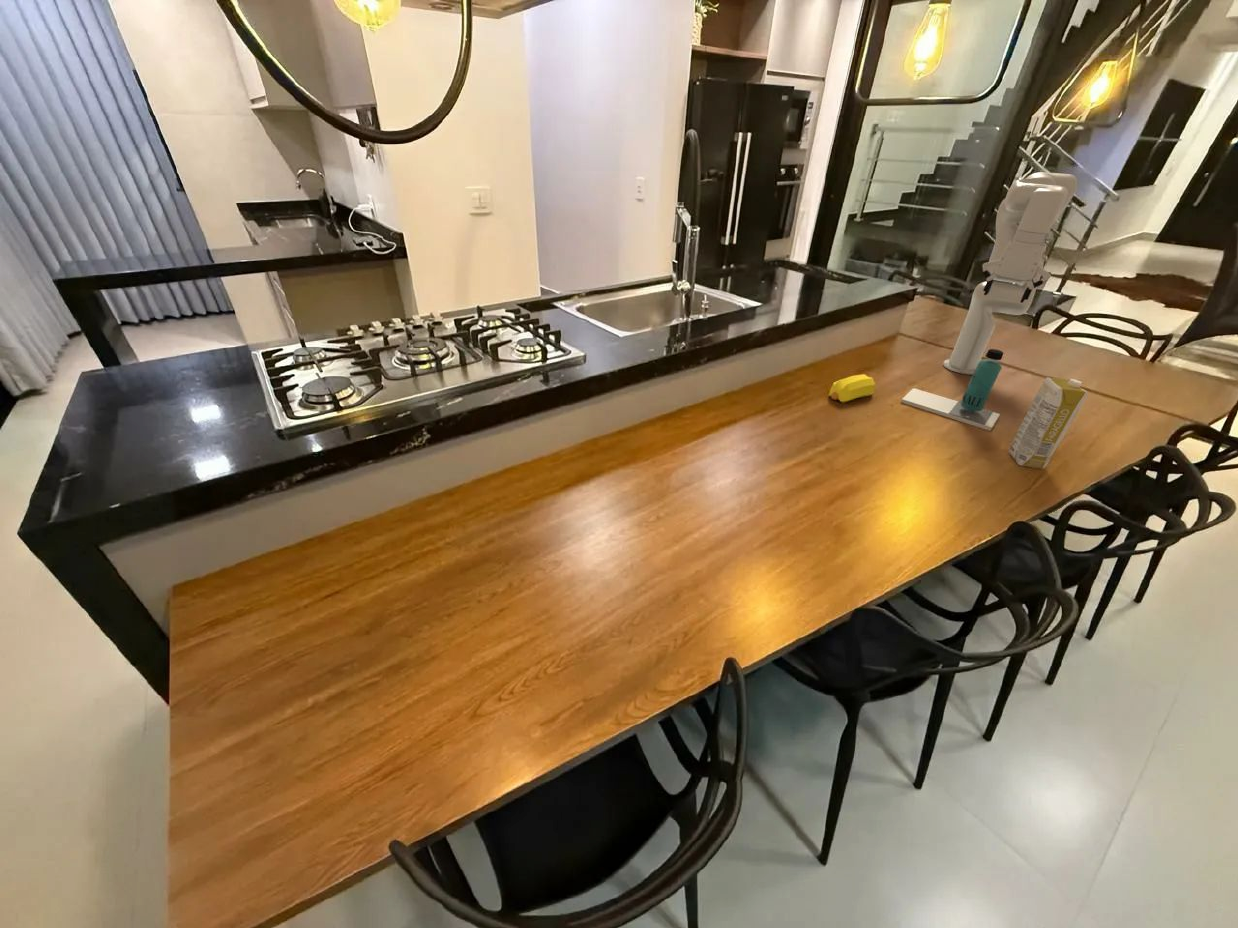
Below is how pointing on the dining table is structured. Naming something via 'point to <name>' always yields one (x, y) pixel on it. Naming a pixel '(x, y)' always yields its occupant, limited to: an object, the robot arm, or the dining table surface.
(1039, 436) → the juice carton
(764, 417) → the dining table surface
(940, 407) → the floor panel
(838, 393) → the yellow faceted oblong part
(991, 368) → the beverage bottle
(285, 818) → the dining table surface
